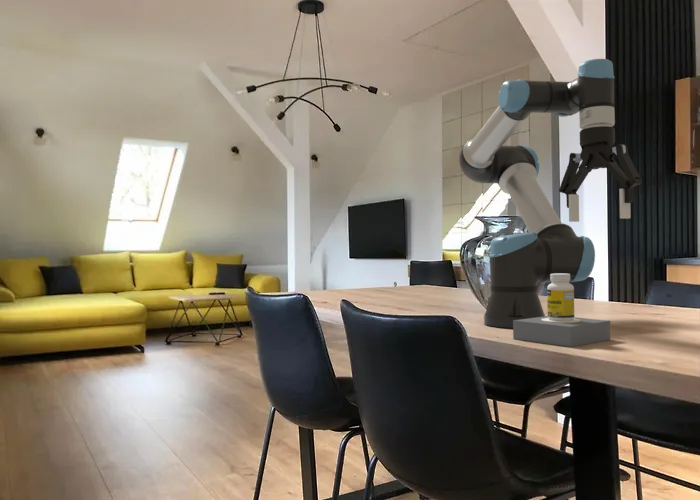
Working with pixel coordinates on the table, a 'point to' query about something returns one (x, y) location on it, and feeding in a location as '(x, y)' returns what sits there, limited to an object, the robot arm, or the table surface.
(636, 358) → the table surface
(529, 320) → the riser
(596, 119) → the robot arm
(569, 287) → the supplement bottle
